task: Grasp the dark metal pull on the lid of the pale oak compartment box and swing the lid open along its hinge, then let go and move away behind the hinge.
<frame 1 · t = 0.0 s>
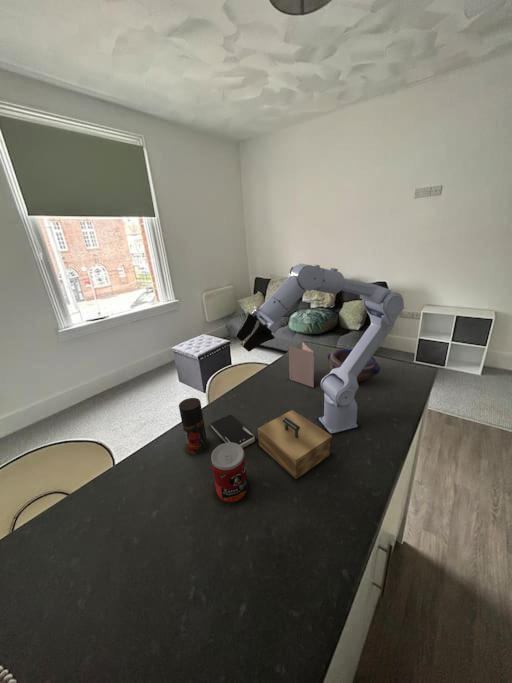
hand: (241, 343, 70), 32 cm above the kitchen island, tool tilted 50°, fingers open, 7 cm apart
deodorant: (197, 447, 82), on the kitchen island
greeting card: (301, 382, 113), on the kitchen island
bowl: (351, 378, 114), on the kitchen island
canned food: (232, 489, 68), on the kitchen island
compartment: (293, 450, 79), on the kitchen island
smartphone: (232, 434, 87), on the kitchen island
lid: (293, 427, 76), point 8 cm above the kitchen island, hinge at 0.0°
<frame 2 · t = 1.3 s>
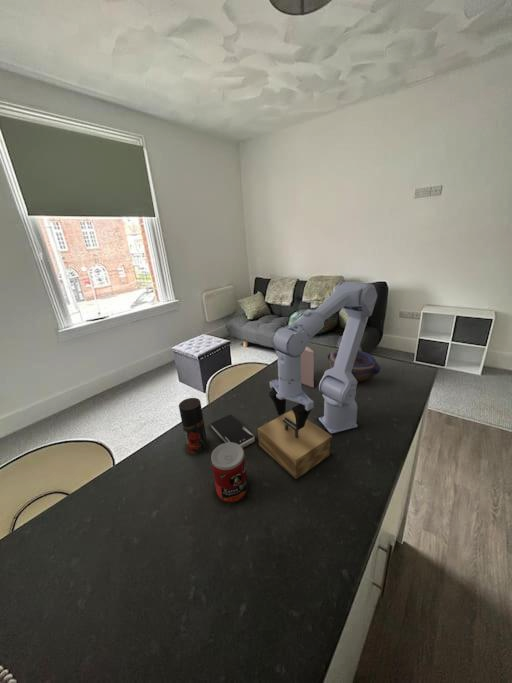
hand: (290, 420, 74), 10 cm above the kitchen island, tool pointing down, fingers open, 7 cm apart
nothing on the kitchen island moved.
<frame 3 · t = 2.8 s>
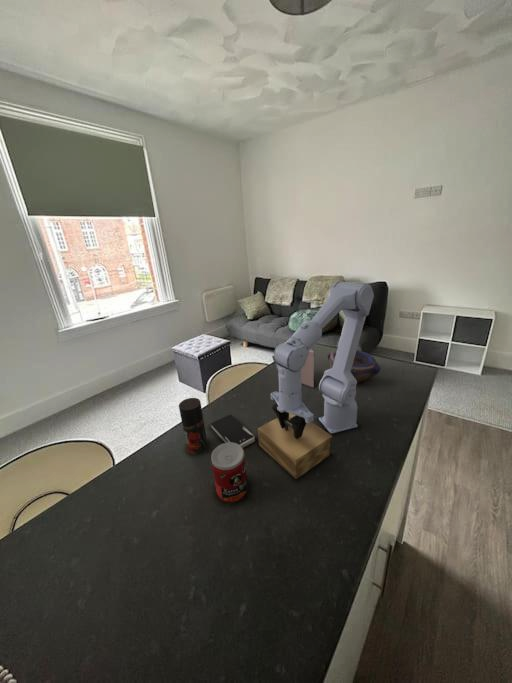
hand: (291, 431, 76), 7 cm above the kitchen island, tool pointing down, fingers closed on lid, 5 cm apart
lid: (293, 427, 76), point 8 cm above the kitchen island, hinge at 0.0°, touching gripper
everything else where it was.
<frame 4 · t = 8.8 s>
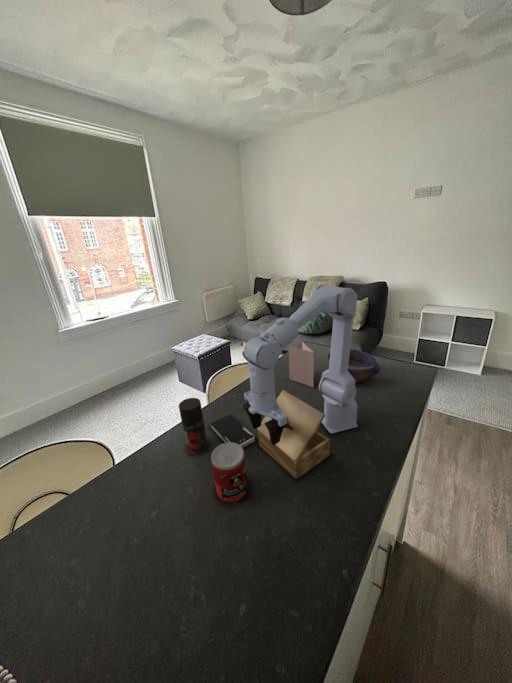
hand: (266, 434, 70), 10 cm above the kitchen island, tool pointing down, fingers open, 7 cm apart
lid: (285, 420, 73), point 12 cm above the kitchen island, hinge at 40.6°
everything else where it was.
at the end: lid at +41° (first picture: +0°) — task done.
